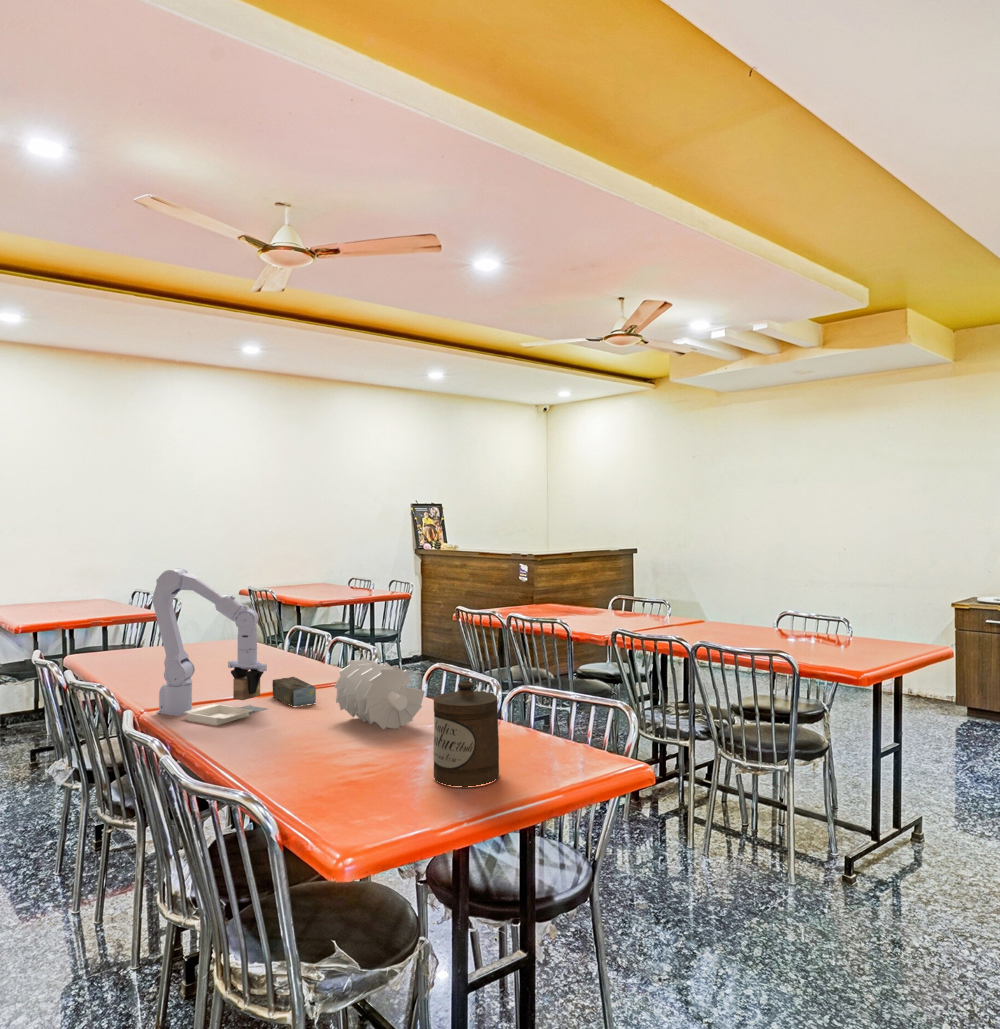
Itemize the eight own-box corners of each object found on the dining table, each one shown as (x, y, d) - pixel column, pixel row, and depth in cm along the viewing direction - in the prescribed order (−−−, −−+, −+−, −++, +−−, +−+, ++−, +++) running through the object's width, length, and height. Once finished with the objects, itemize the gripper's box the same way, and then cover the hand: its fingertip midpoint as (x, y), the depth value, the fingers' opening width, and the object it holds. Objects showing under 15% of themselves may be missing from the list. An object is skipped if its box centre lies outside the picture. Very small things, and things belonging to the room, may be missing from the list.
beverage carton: (292, 708, 234) (292, 687, 234) (271, 697, 249) (271, 678, 249) (316, 705, 239) (316, 684, 239) (294, 694, 254) (294, 675, 254)
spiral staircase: (386, 748, 204) (342, 725, 223) (434, 711, 214) (389, 692, 233) (362, 693, 199) (320, 674, 218) (413, 658, 209) (368, 643, 228)
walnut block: (242, 700, 226) (242, 680, 226) (233, 698, 227) (233, 679, 228) (260, 695, 232) (260, 676, 232) (250, 694, 234) (250, 675, 234)
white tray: (181, 720, 218) (181, 712, 218) (214, 711, 229) (214, 703, 229) (222, 727, 211) (222, 719, 211) (254, 718, 221) (254, 709, 221)
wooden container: (420, 777, 169) (420, 680, 169) (468, 763, 179) (468, 671, 179) (463, 794, 158) (463, 690, 158) (512, 777, 168) (512, 680, 169)
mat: (225, 712, 228) (225, 711, 228) (247, 706, 236) (247, 705, 236) (246, 716, 223) (246, 715, 223) (268, 709, 231) (268, 708, 231)
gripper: (274, 648, 230) (274, 692, 230) (240, 645, 237) (240, 688, 237) (256, 652, 224) (256, 697, 224) (222, 648, 231) (222, 692, 230)
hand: (247, 692), depth 230 cm, fingers closed on walnut block, 4 cm apart
